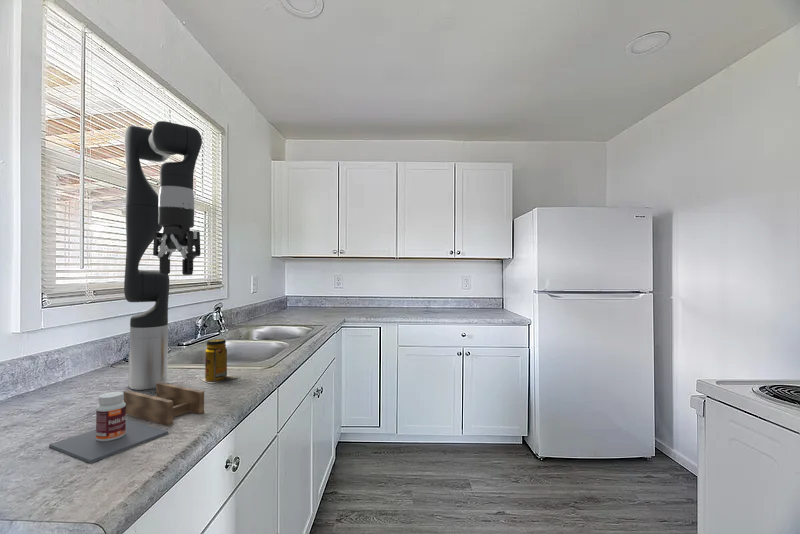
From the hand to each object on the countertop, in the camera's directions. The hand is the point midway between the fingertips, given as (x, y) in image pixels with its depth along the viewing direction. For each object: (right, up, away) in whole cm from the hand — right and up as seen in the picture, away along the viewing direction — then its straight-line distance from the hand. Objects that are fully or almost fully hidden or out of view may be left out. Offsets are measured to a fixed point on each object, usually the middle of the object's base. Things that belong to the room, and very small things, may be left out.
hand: (176, 274), depth 97 cm
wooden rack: (-1, -32, -3) cm, 33 cm away
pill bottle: (-3, -32, -18) cm, 37 cm away
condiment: (-1, -33, +26) cm, 42 cm away
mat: (-3, -32, -18) cm, 37 cm away
